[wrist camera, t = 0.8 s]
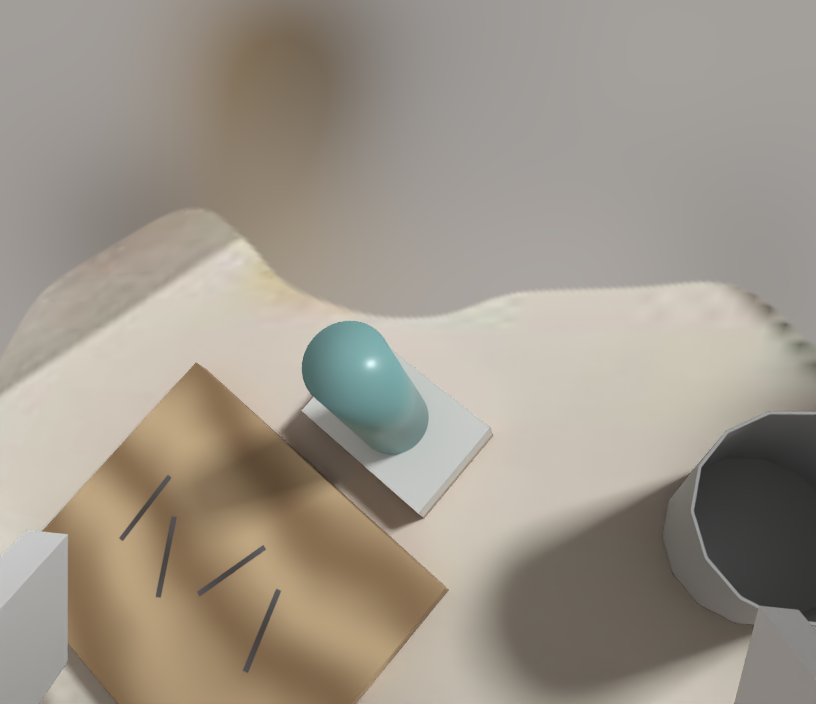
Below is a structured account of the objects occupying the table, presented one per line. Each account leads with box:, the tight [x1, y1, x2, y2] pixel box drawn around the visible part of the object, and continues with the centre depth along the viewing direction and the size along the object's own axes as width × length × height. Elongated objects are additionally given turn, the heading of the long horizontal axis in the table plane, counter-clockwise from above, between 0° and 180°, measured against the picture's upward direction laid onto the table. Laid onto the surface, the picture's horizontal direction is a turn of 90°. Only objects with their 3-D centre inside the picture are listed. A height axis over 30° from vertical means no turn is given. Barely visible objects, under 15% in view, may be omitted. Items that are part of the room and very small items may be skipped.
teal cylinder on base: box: [302, 321, 493, 518], centre depth 40 cm, size 6×9×12 cm, turn 49°
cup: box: [662, 411, 816, 626], centre depth 35 cm, size 8×8×10 cm
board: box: [42, 363, 448, 704], centre depth 44 cm, size 16×20×2 cm
